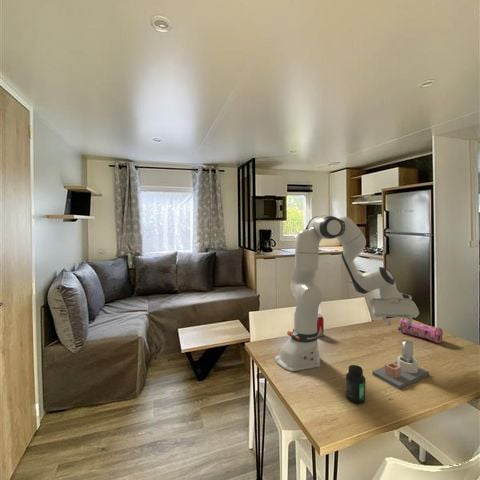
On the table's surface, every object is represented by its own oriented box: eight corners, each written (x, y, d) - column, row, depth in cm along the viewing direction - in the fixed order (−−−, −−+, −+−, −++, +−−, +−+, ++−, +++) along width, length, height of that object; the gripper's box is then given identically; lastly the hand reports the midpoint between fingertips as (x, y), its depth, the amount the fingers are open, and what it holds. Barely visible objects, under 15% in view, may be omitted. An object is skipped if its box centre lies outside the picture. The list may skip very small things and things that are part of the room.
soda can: (324, 337, 156) (324, 317, 156) (311, 337, 158) (311, 317, 157) (323, 333, 163) (323, 313, 163) (311, 332, 165) (311, 313, 164)
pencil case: (396, 333, 161) (396, 318, 161) (404, 329, 166) (404, 315, 166) (437, 346, 143) (438, 330, 143) (445, 342, 148) (445, 326, 148)
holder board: (399, 389, 107) (399, 375, 107) (372, 374, 118) (372, 362, 117) (428, 375, 117) (429, 362, 116) (401, 362, 127) (401, 351, 127)
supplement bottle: (366, 406, 98) (367, 374, 97) (346, 403, 99) (346, 371, 99) (363, 394, 104) (363, 364, 103) (344, 391, 106) (345, 362, 105)
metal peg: (409, 371, 117) (409, 344, 116) (400, 367, 120) (400, 341, 119) (414, 369, 118) (415, 342, 118) (405, 365, 122) (406, 339, 121)
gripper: (370, 295, 134) (378, 321, 125) (414, 295, 132) (425, 322, 123) (367, 301, 139) (374, 327, 130) (409, 302, 136) (419, 328, 127)
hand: (399, 325), depth 126 cm, fingers open, 8 cm apart
